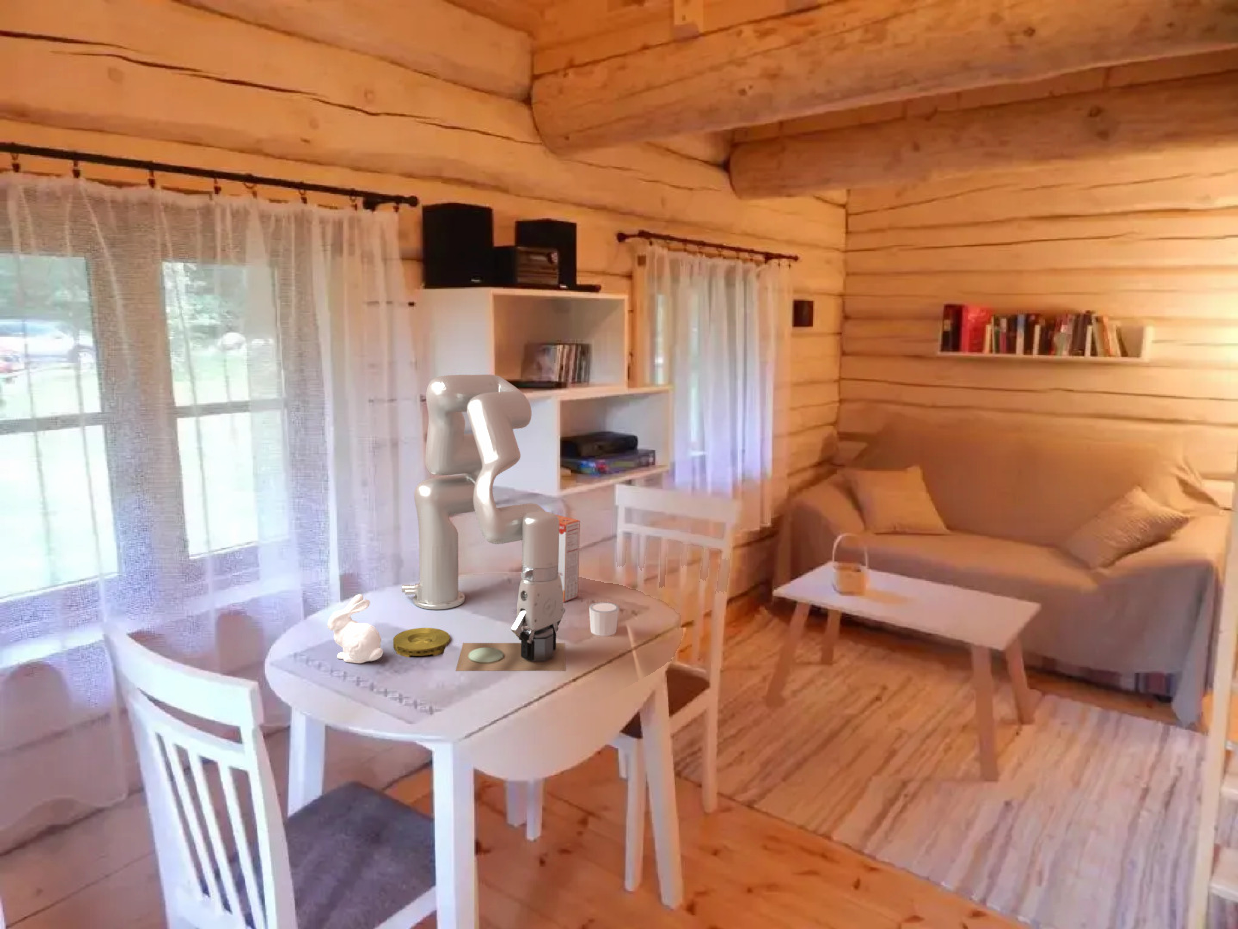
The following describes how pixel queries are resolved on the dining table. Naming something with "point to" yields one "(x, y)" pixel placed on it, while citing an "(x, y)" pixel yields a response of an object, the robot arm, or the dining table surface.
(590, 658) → the dining table surface
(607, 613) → the white cup
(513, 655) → the board
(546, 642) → the grey faceted cylinder
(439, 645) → the brake disc
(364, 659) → the rabbit
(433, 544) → the robot arm
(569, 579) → the cracker box
